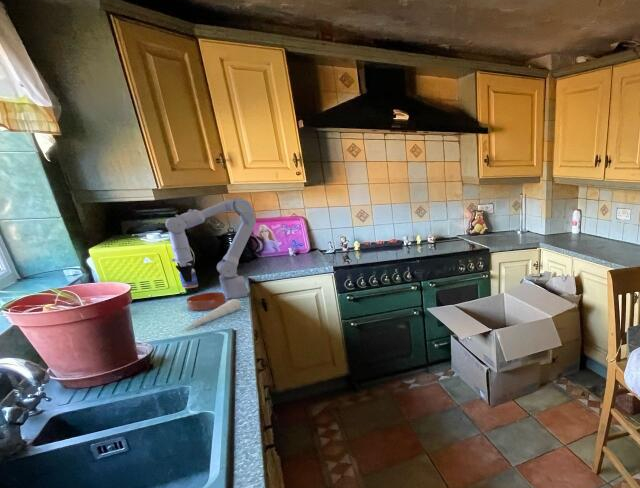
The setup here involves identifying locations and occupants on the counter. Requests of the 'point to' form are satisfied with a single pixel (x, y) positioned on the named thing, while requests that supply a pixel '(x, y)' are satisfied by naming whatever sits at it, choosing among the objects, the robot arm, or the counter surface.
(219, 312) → the unicorn horn
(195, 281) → the pill bottle
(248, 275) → the counter surface
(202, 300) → the bowl
